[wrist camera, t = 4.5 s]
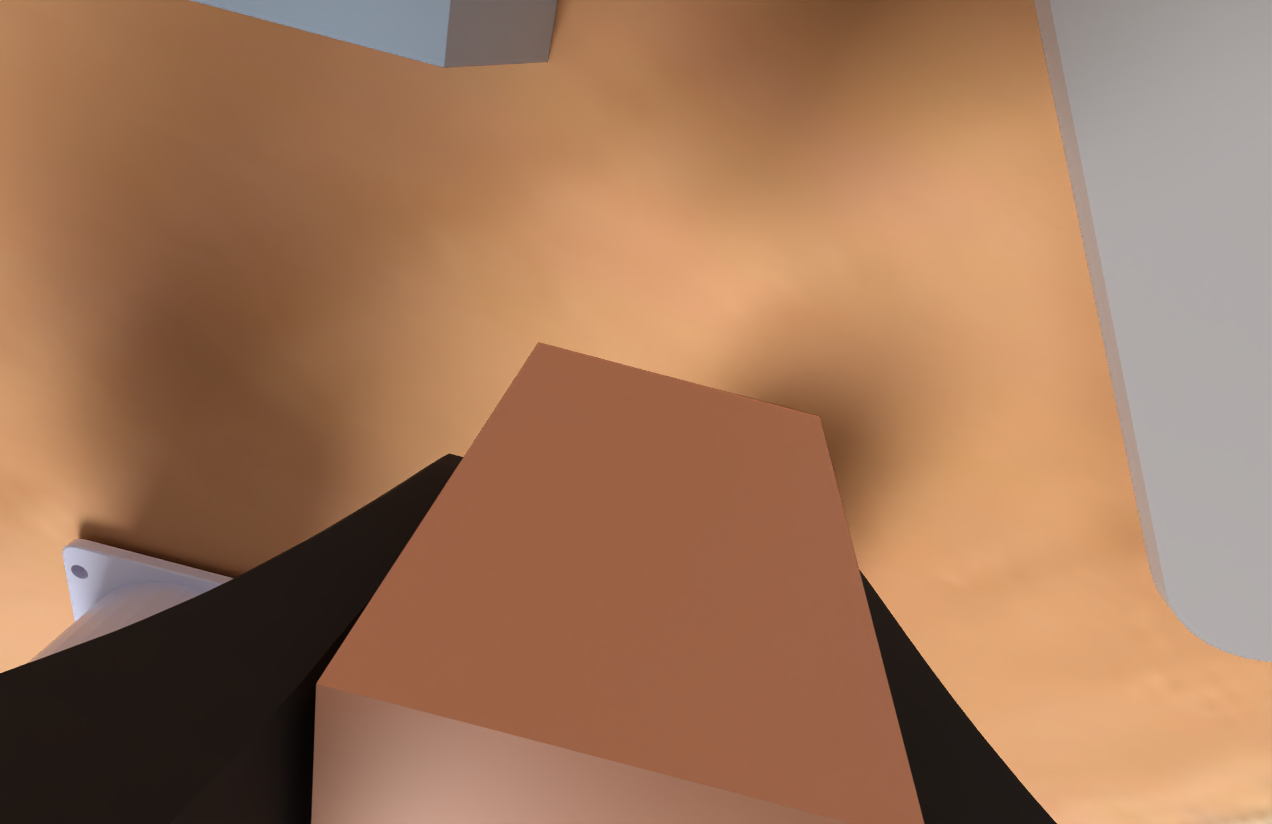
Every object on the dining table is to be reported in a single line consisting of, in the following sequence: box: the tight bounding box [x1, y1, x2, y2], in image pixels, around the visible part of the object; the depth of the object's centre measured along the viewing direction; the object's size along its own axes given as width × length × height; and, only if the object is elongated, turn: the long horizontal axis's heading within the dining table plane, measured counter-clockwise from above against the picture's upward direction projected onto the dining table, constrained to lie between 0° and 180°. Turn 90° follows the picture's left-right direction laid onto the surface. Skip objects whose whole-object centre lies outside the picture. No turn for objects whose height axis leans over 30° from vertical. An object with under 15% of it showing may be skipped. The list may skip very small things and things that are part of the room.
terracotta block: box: [311, 342, 924, 824], centre depth 8 cm, size 4×4×6 cm
